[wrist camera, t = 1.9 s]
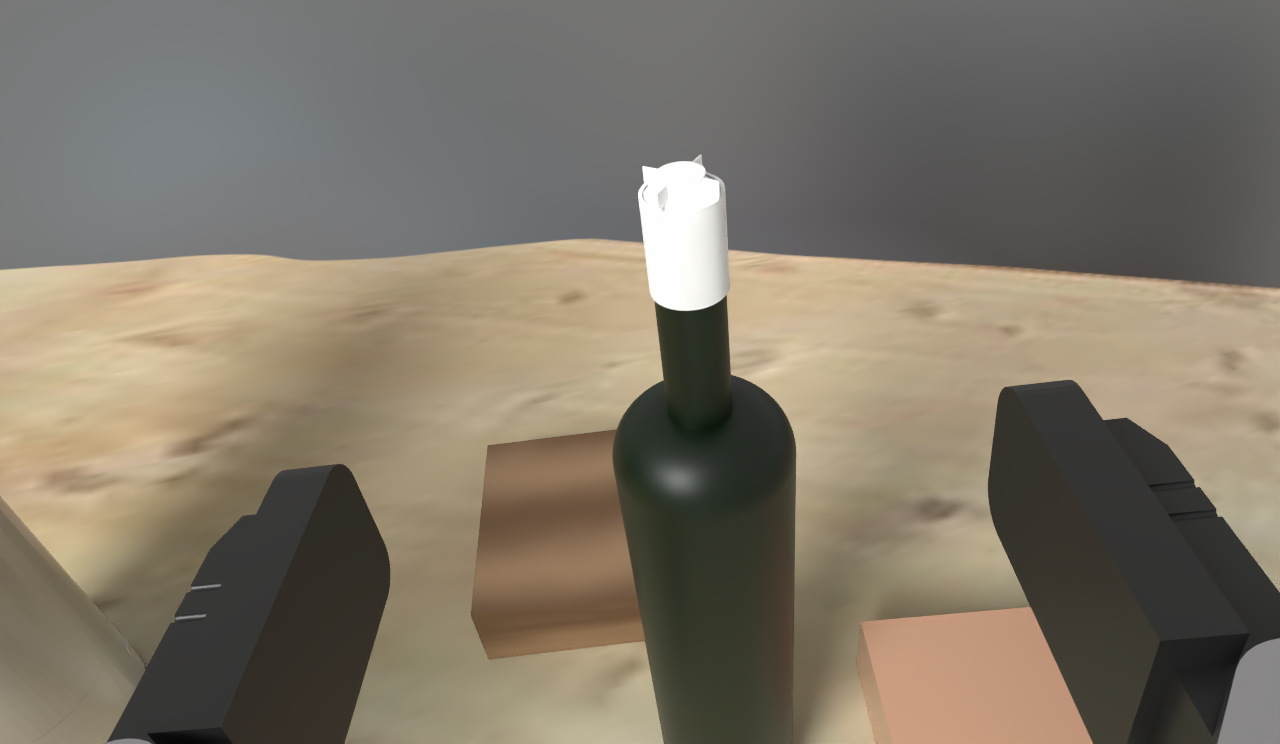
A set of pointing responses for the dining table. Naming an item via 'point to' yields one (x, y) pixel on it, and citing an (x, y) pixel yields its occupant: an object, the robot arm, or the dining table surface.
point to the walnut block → (553, 549)
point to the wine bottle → (707, 490)
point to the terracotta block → (965, 681)
